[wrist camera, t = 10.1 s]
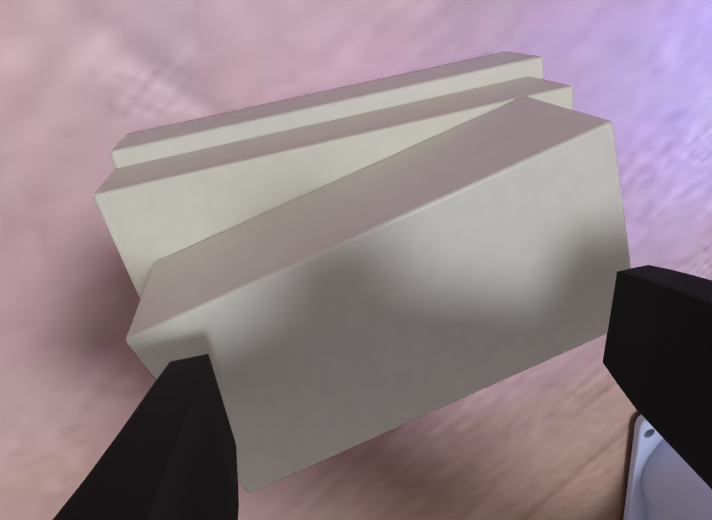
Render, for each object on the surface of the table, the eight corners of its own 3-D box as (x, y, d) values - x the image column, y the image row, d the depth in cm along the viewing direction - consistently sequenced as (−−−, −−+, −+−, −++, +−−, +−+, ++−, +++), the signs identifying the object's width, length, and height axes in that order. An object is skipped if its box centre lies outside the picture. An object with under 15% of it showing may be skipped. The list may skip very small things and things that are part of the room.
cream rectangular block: (559, 258, 13) (639, 320, 10) (247, 398, 13) (248, 495, 10) (525, 94, 11) (614, 120, 8) (152, 262, 11) (122, 340, 8)
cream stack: (514, 260, 18) (580, 320, 14) (207, 339, 17) (196, 425, 13) (507, 50, 14) (592, 62, 11) (126, 134, 13) (83, 176, 10)
